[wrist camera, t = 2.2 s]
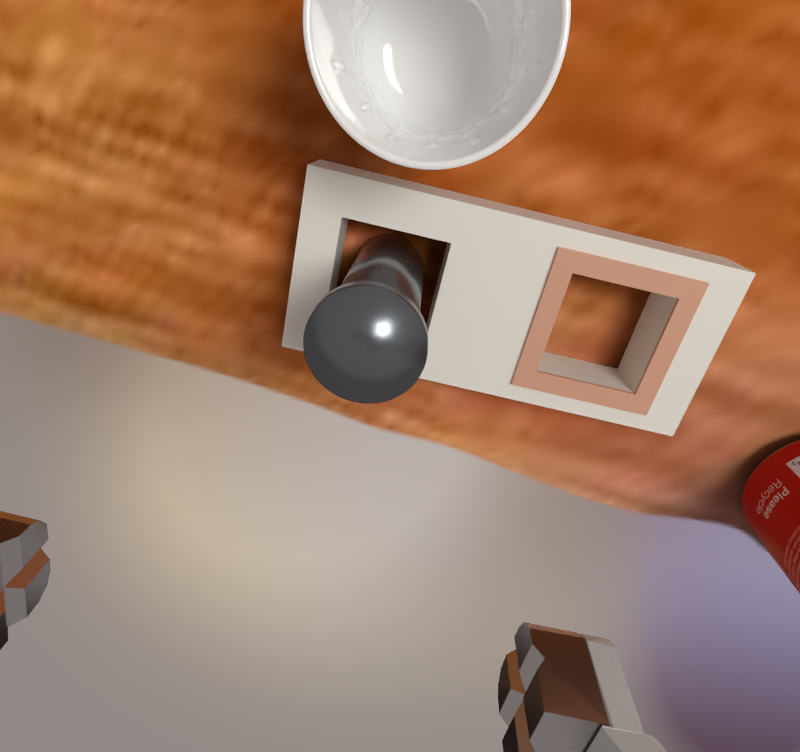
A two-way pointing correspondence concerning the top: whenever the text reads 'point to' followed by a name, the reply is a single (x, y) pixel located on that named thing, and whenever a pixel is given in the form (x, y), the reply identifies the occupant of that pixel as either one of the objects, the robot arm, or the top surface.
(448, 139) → the white cup
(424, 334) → the pin
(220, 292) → the top surface
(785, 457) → the soda can
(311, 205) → the dock board
